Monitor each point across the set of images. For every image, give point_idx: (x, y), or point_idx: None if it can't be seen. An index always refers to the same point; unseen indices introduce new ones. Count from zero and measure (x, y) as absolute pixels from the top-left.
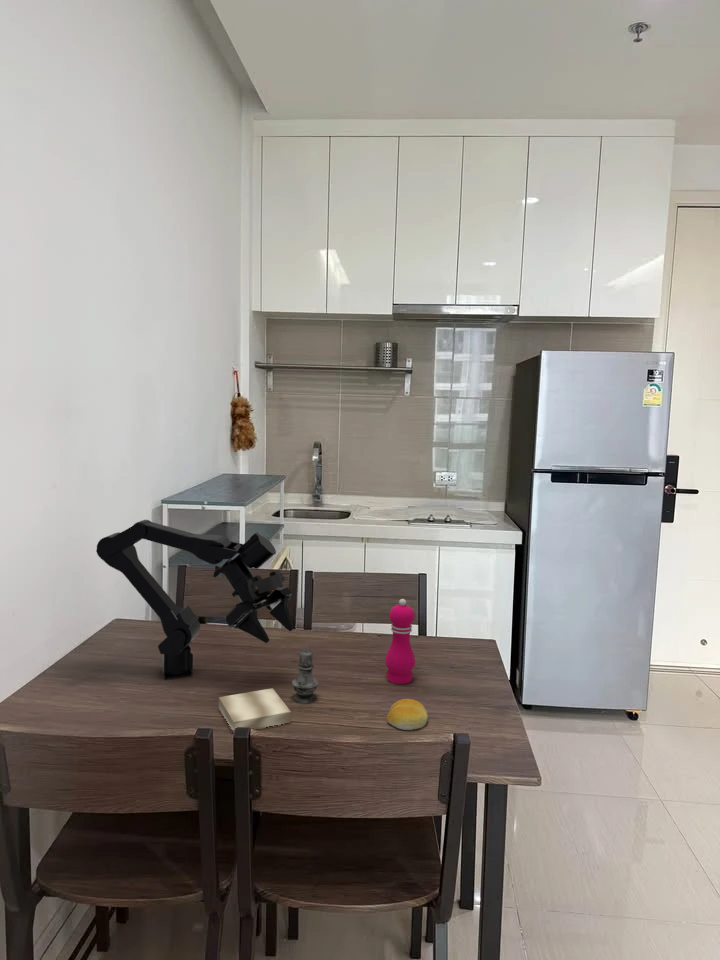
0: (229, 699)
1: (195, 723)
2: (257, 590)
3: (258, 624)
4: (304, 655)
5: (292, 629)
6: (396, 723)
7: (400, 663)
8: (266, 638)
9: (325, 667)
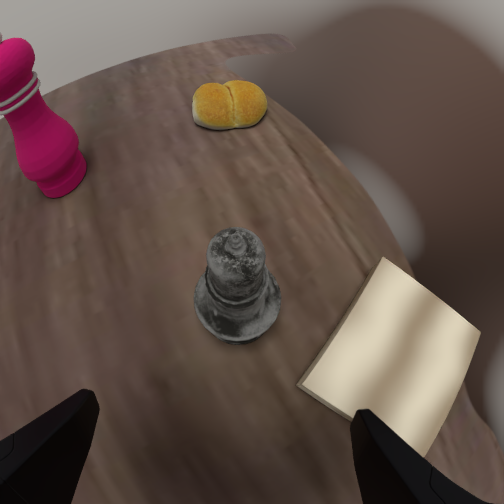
0: (421, 429)
1: (471, 431)
2: None
3: (440, 487)
4: (263, 246)
5: (92, 391)
6: (266, 106)
7: (73, 131)
8: (378, 420)
9: (43, 347)
